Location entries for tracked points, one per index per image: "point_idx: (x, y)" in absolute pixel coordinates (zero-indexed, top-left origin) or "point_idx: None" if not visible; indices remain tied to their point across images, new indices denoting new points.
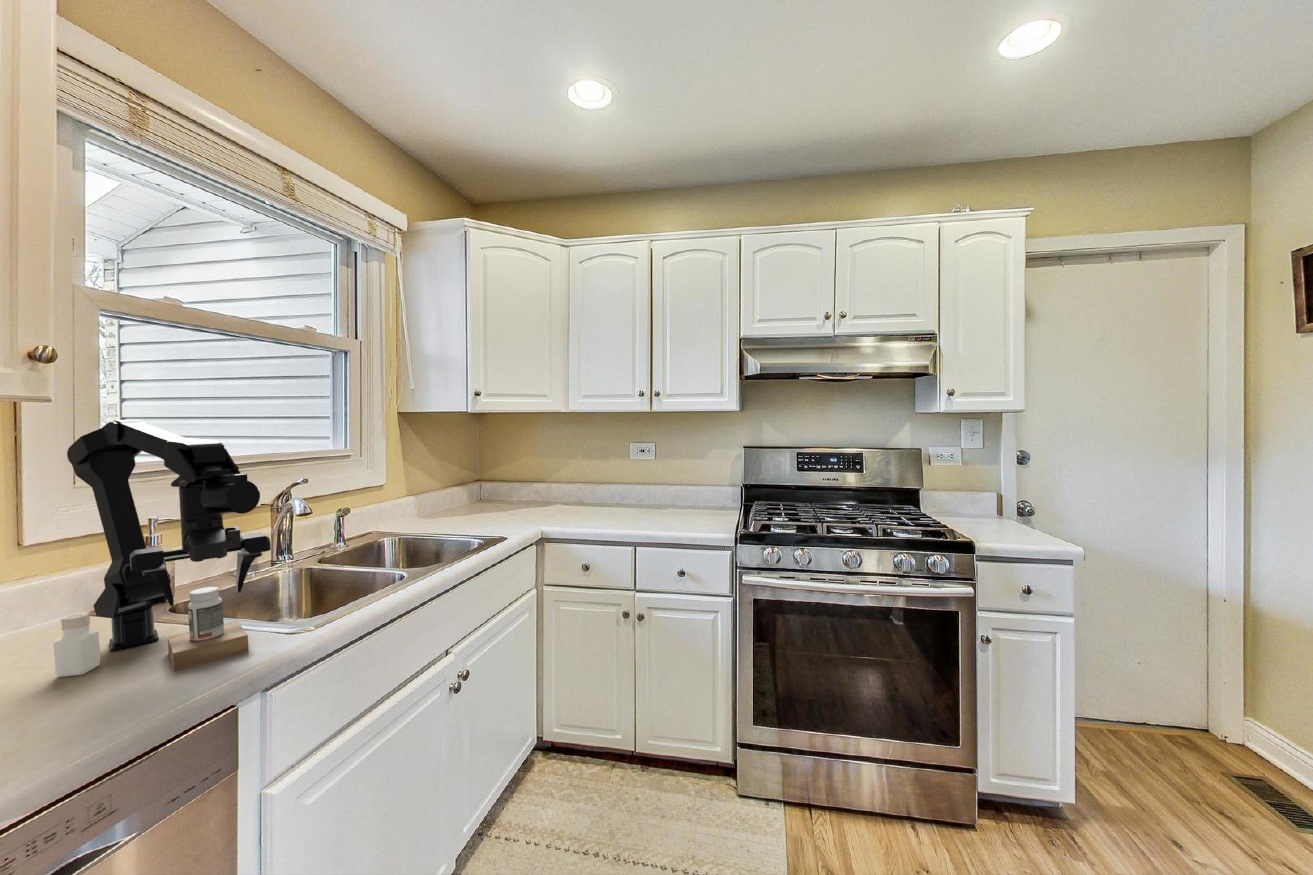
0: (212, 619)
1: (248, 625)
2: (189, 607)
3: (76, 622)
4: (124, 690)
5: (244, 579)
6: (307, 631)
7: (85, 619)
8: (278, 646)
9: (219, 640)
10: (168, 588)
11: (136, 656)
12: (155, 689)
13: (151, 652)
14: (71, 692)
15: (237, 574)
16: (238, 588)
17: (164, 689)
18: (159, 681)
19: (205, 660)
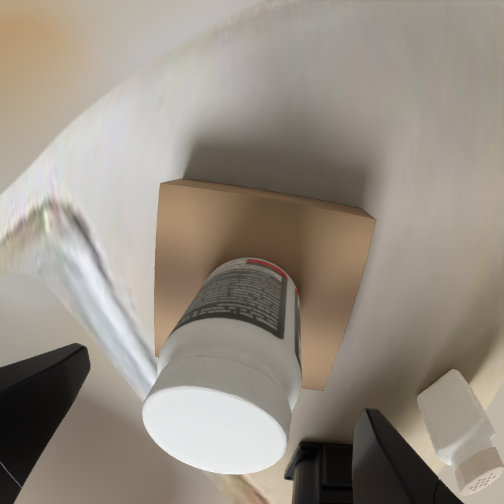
0: (230, 284)
1: (144, 378)
2: (300, 378)
3: (491, 459)
4: (460, 186)
5: (18, 362)
6: (57, 204)
7: (477, 467)
8: (122, 148)
9: (238, 213)
10: (415, 482)
11: (362, 395)
12: (421, 116)
13: (337, 395)
14: (498, 285)
15: (35, 424)
16: (70, 354)
17: (408, 93)
18: (404, 165)
19: (288, 195)
